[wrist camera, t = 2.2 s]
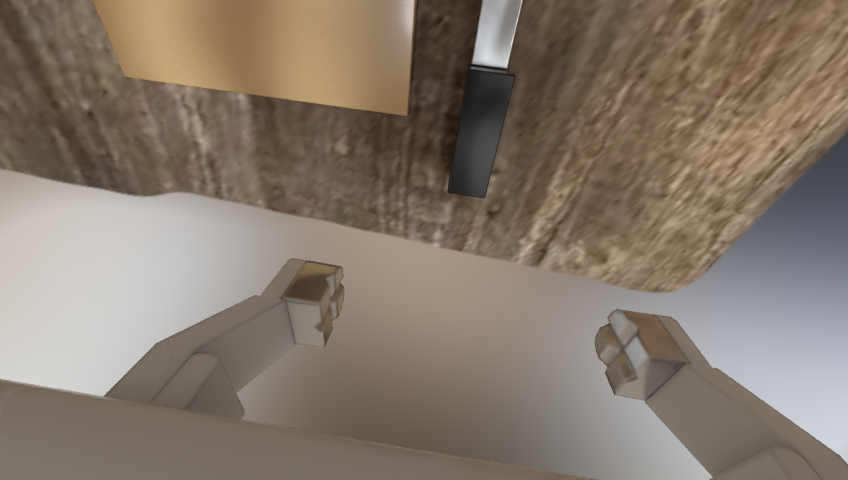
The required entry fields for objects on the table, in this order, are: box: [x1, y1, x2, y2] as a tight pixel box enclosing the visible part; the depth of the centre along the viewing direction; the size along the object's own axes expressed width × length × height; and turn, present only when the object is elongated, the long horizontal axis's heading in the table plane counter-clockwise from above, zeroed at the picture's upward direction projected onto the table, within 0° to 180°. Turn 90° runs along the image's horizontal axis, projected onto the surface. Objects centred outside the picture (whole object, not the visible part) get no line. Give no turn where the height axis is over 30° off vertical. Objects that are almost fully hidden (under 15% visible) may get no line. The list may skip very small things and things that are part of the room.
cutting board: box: [93, 0, 417, 116], centre depth 18 cm, size 20×10×1 cm, turn 84°
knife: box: [447, 0, 523, 198], centre depth 16 cm, size 18×3×3 cm, turn 174°
